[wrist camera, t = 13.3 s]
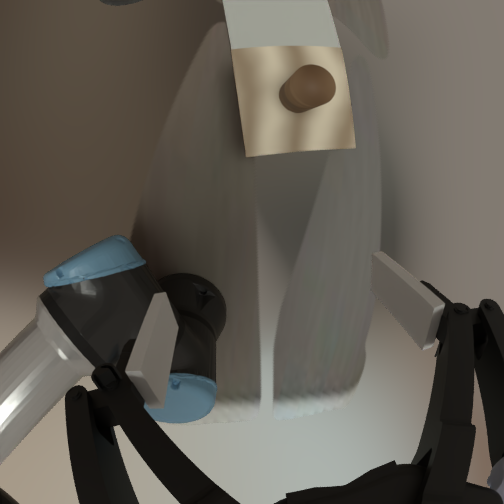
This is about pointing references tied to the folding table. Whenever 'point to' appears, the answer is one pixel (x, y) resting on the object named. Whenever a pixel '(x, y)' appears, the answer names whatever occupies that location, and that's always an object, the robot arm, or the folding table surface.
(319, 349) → the folding table surface
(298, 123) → the lid
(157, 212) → the folding table surface
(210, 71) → the folding table surface
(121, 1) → the tankard
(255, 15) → the mat
